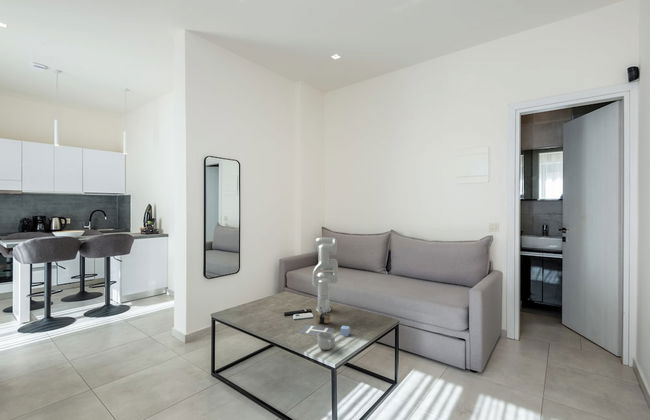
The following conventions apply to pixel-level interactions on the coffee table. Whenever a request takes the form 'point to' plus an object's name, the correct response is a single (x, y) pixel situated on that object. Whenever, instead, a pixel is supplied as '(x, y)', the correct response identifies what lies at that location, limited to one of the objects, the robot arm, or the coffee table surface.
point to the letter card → (315, 329)
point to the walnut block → (326, 317)
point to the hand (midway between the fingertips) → (323, 320)
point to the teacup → (326, 340)
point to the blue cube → (345, 330)
